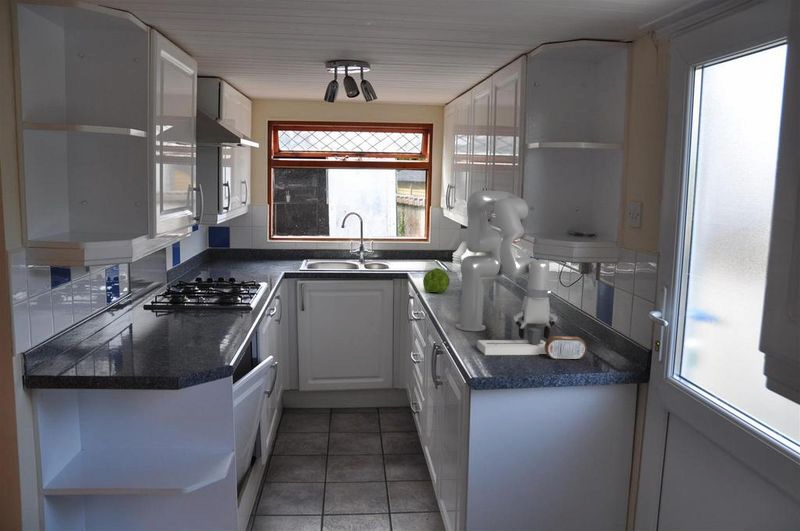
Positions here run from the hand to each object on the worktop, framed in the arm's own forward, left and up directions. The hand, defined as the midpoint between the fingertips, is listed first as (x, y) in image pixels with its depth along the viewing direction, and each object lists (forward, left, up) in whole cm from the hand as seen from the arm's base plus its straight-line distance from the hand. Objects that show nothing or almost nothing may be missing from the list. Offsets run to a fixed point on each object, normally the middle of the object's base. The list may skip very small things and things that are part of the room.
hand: (533, 338), depth 245 cm
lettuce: (-130, -7, -5) cm, 130 cm away
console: (0, -7, -5) cm, 9 cm away
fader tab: (0, 0, -2) cm, 2 cm away
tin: (+11, +8, -5) cm, 15 cm away
